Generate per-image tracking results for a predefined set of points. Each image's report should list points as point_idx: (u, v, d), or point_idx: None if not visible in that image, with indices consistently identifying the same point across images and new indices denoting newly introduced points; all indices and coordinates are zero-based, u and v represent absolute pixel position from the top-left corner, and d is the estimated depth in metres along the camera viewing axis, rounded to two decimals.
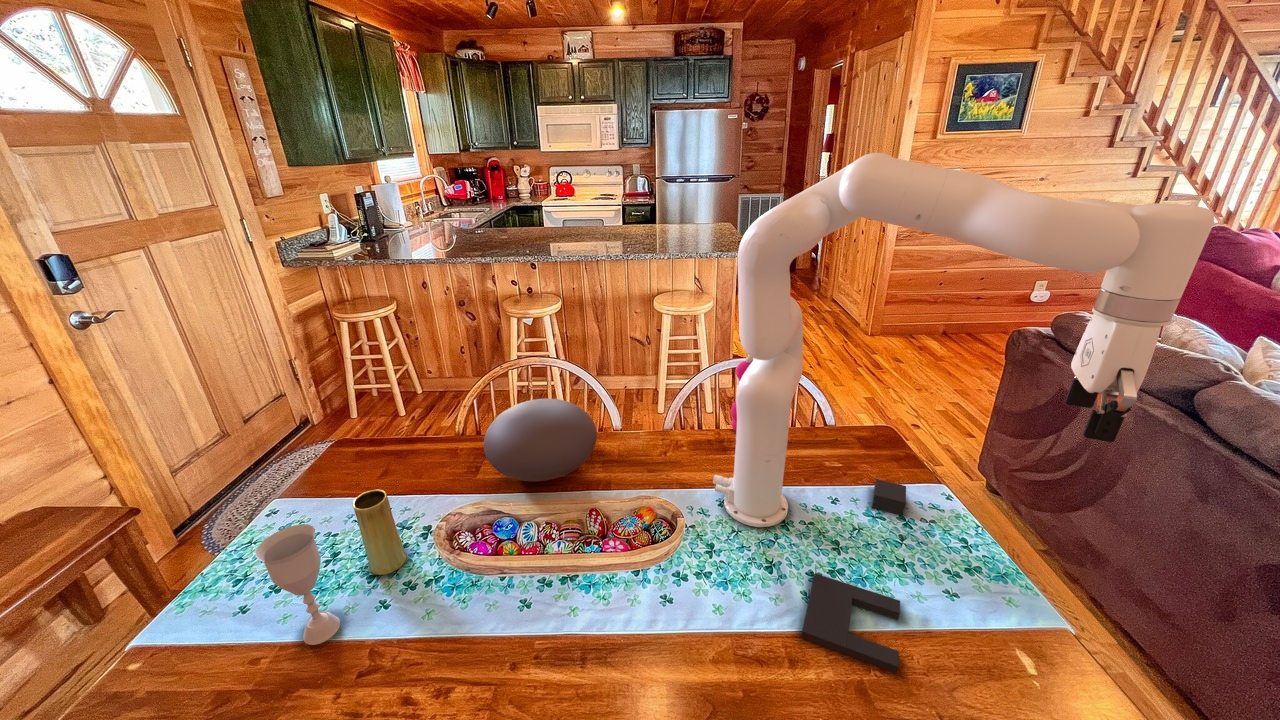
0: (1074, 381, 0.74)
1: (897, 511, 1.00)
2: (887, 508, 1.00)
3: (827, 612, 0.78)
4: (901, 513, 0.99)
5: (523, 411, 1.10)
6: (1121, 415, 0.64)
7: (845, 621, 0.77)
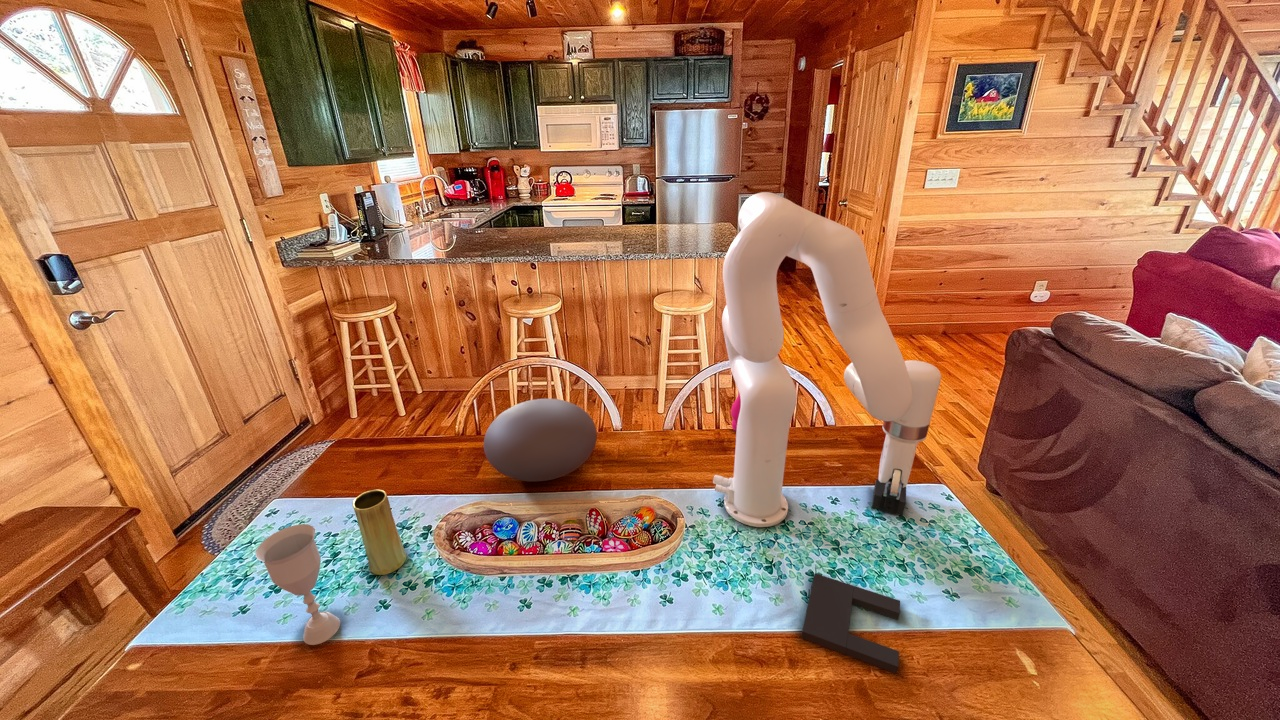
0: None
1: (897, 511, 1.00)
2: None
3: (827, 612, 0.78)
4: (901, 513, 0.99)
5: (523, 411, 1.10)
6: (895, 498, 0.97)
7: (845, 621, 0.77)
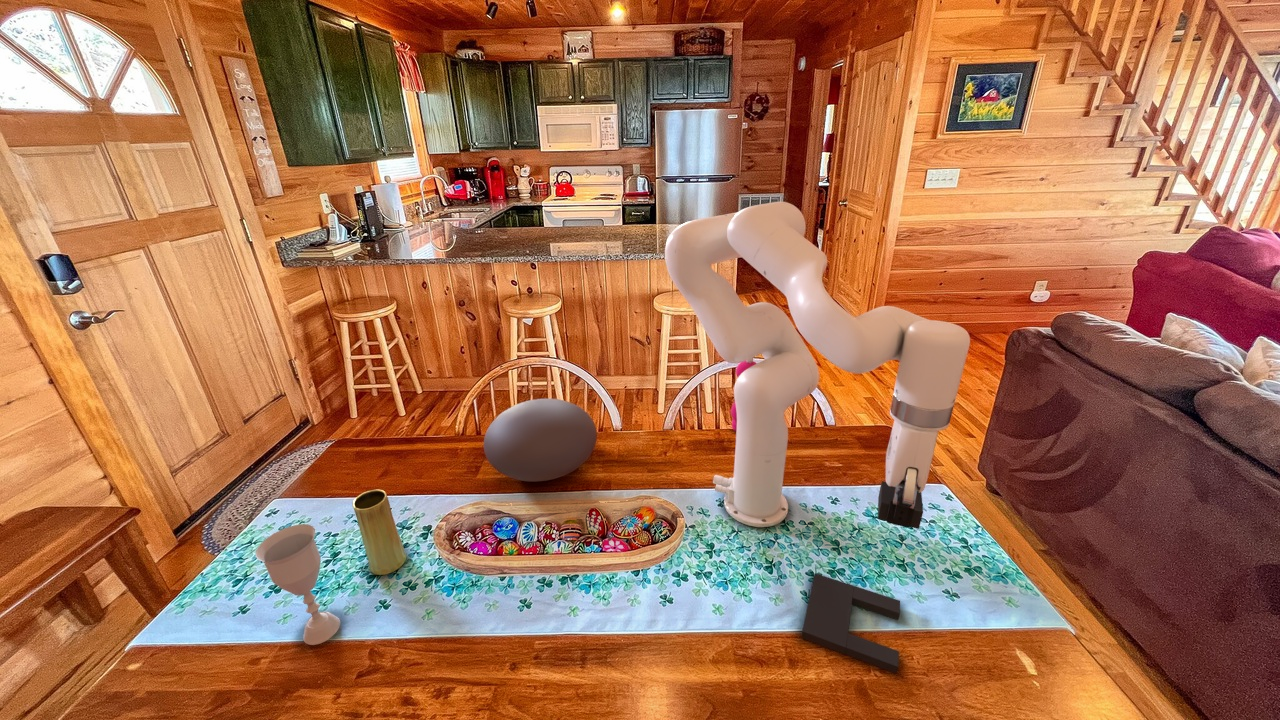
0: None
1: (911, 523, 0.75)
2: None
3: (827, 612, 0.78)
4: (917, 526, 0.75)
5: (523, 411, 1.10)
6: (909, 507, 0.72)
7: (845, 621, 0.77)
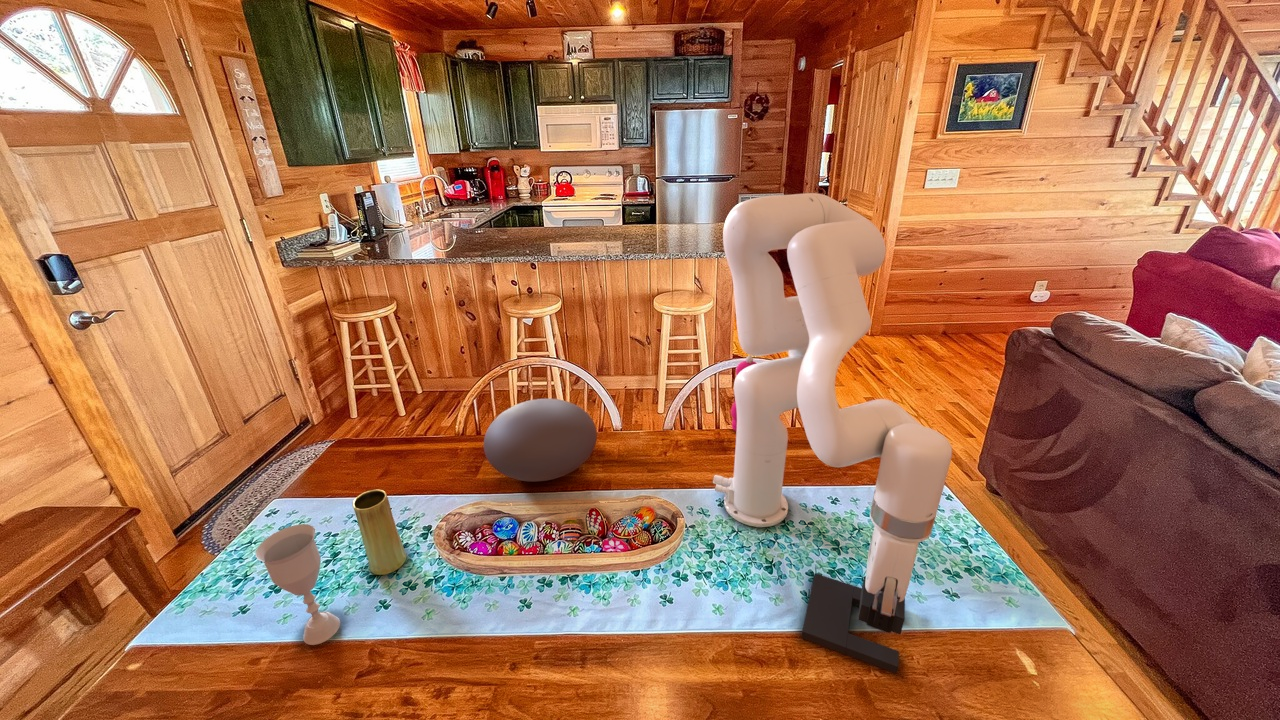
0: None
1: (893, 628, 0.72)
2: None
3: (827, 612, 0.78)
4: (898, 631, 0.72)
5: (523, 411, 1.10)
6: None
7: (845, 621, 0.77)
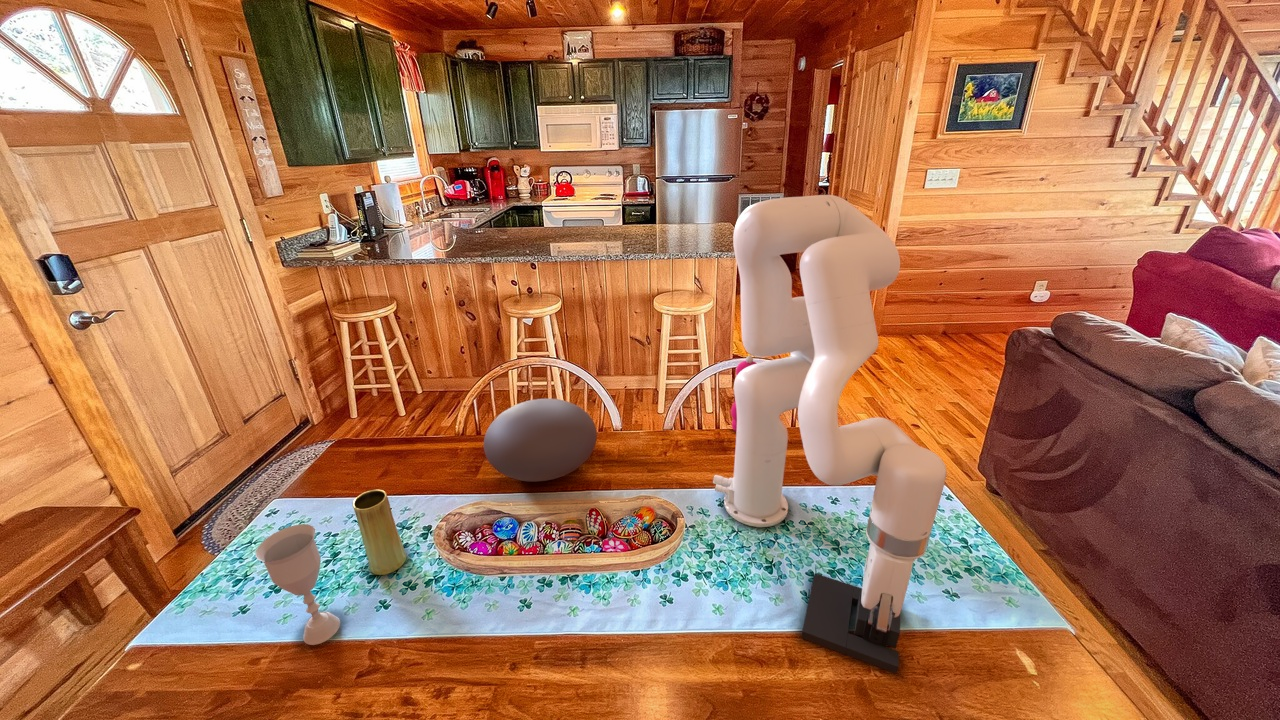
0: None
1: (888, 642, 0.73)
2: None
3: (827, 612, 0.78)
4: (894, 645, 0.73)
5: (523, 411, 1.10)
6: None
7: (845, 621, 0.77)
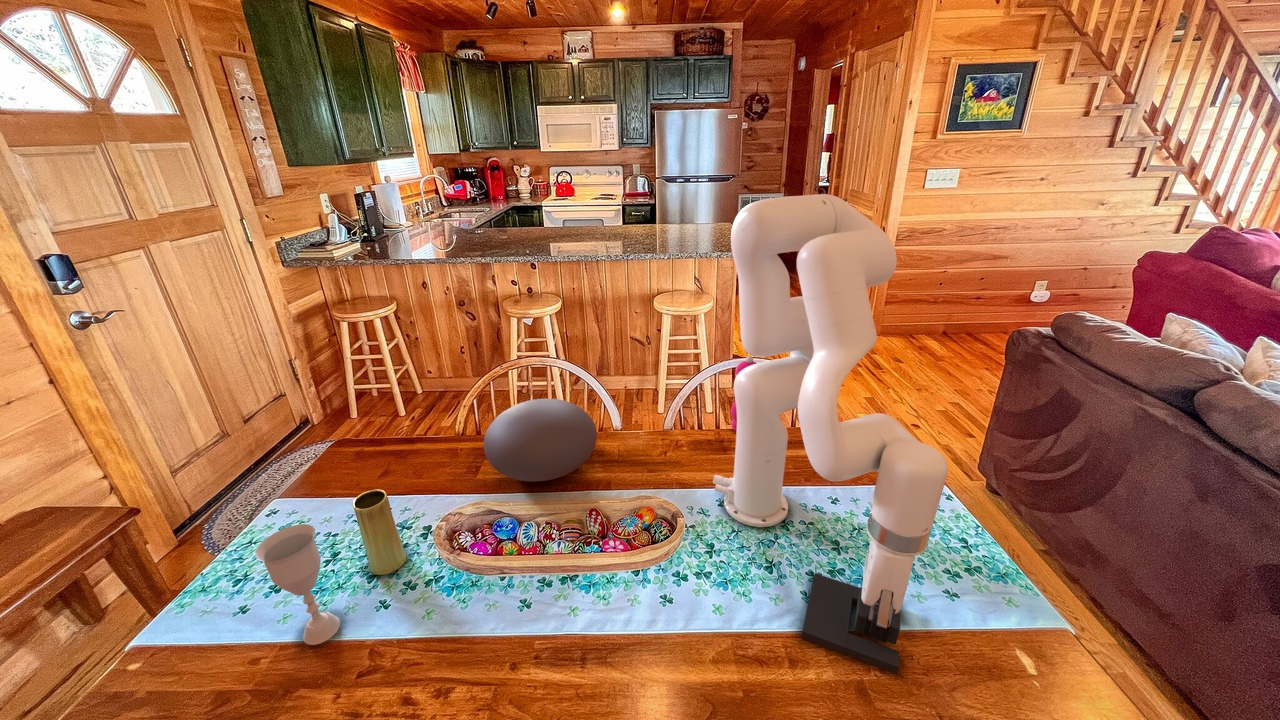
0: None
1: (888, 639, 0.73)
2: None
3: (827, 612, 0.78)
4: (894, 642, 0.73)
5: (523, 411, 1.10)
6: None
7: (845, 621, 0.77)
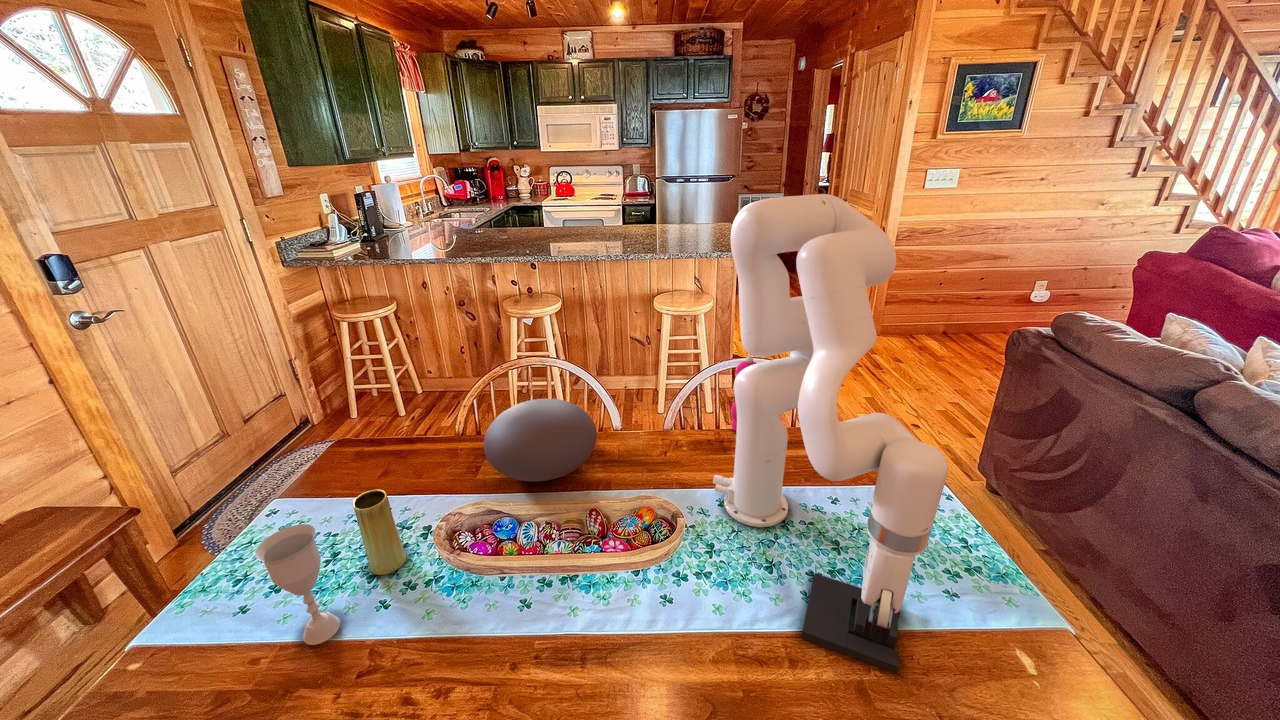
0: None
1: None
2: (872, 641, 0.74)
3: (827, 612, 0.78)
4: None
5: (523, 411, 1.10)
6: None
7: (845, 621, 0.77)
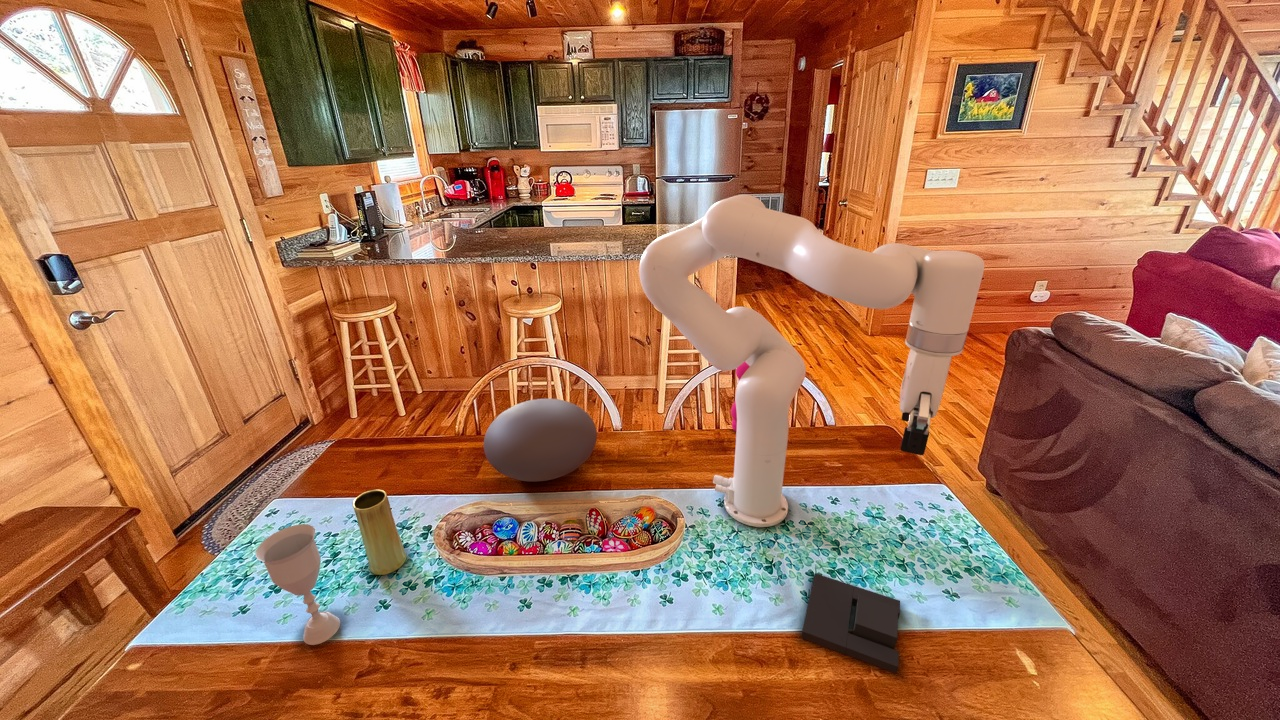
0: None
1: None
2: (872, 641, 0.74)
3: (827, 612, 0.78)
4: None
5: (523, 411, 1.10)
6: (923, 432, 0.74)
7: (845, 621, 0.77)
